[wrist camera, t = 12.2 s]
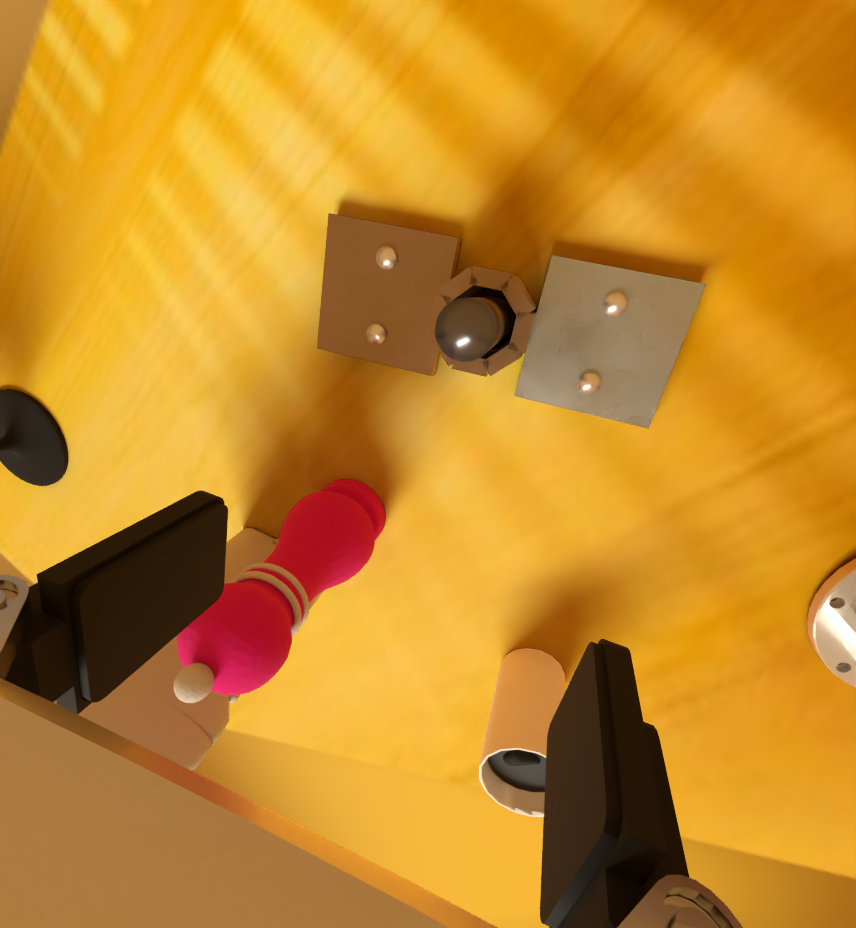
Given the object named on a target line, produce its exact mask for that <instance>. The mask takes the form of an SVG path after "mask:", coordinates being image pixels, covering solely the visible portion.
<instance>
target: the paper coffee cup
mask: <svg viewBox="0 0 856 928" xmlns="http://www.w3.org/2000/svg"><path fill="white" fill-rule="evenodd" d="M565 692H566V680H565V673H564V671H563V668H562V666H561V664H560V663H559V662H558V661H557V660H556V659H555V658H554V657H553V656H551V655H549V654H547V653H545V652H543V651H541V650H537V649H531V648H523V649H517V650H514V651H512V652H510V653H509V654H507V655H505V657H504V658H503V660H502V662H501V663H500V668H499V673H498V677H497V682H496V687H495V692H494V697H493V702H492V707H491V712H490V717H489V721H488V726H487V731H486V736H485V741H484V746H483V751H482V756H481V761H480V765H479V780H480V782H481V784H482V786H483V788H484V790H485V792H486V793H487V794H488V795H490V797H491V798H493V799H494V800H495V801H496V802H497V803H498V804H500V805H502V806H503V807H505V808H507V809H509V810H511V811H513V812H515V813H519V814H523V815H527V816H531V817H544V801H545V776H546V751H547V735H548V730H549V726H550V723H551V721H552V718H553V716H554V714H555V712H556V710H557V708H558V706H559V704H560V702H561V700H562V698H563V696H564V694H565Z"/></svg>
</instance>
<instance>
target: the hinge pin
mask: <svg viewBox="0 0 856 928" xmlns="http://www.w3.org/2000/svg"><path fill="white" fill-rule="evenodd" d="M512 320H513V318H512V312H511V309H510V307H509V306H508V304H507V303H506V302H505V301H503V300H502V299H500V298H497V297H475V298H460V299H456V300H454V301H452V302H450V303H448V304H447V305H446V306H445V307H444V308H443V309H442V310H441V312H440V313H439V315H438V317H437V320H436V324H435V337H436V341H437V343H438V345H439V347H440V349H441V350H442V351H443V352H444V354H446V355H447V356H448V357H450V358H451V359H453V360H456V361H460V362H470V361H474V360H477V359H479V358H480V357H482V356H483V355H485V354H486V353H487V352H488V351H489V350H490V349H491V348H492V347H494V346H495V345H496V344H497V343H498V342H499V341H500V340H502V339H503V338H504V337H505V336H506V335H507V334H508V332H509V331H510V329H511V326H512Z"/></svg>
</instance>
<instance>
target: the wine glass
mask: <svg viewBox="0 0 856 928" xmlns="http://www.w3.org/2000/svg"><path fill="white" fill-rule="evenodd" d="M0 461H1V462H2V463H3V465H4V466H5V467H6V468H7V469H8V470H9V471H11V472H12V473H13V474H14V475H15V476H17V477H18V478H20V479H22V480H24V481H26V482H28V483H30V484H33V485H39V486H47V485H51V484H54V483H56V482H58V481H59V480H60V479H61V478H62V477H63V475H64V474H65V471H66V469H67V463H68V453H67V447H66V444H65V440H64V438H63V435H62V433H61V431H60V429H59V427H58V425H57V423H56V422H55V420H54V419H53V417H52V416H51V415H50V414H49V412H48V411H47V410H46V409H45V408H44V407H43V406H42V405H41V404H40V403H38V402H37V401H36V400H35V399H33V398H32V397H30V396H28V395H26V394H24V393H22V392H20V391H16V390H11V389H6V390H0Z"/></svg>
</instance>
